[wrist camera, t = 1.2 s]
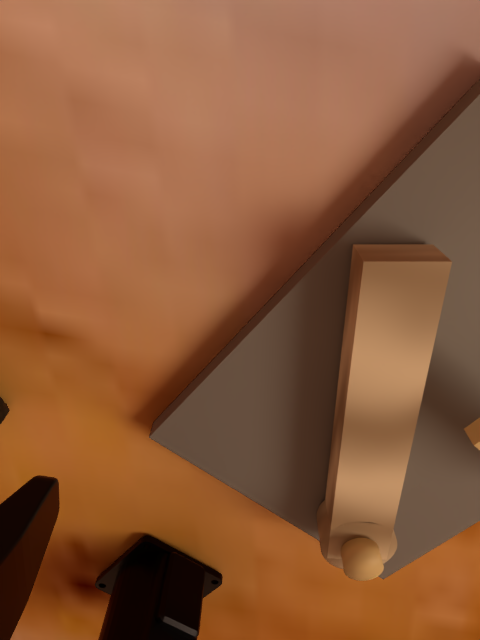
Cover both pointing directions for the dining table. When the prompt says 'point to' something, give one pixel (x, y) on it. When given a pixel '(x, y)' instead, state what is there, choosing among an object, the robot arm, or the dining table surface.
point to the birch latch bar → (379, 389)
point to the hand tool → (3, 410)
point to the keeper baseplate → (324, 363)
